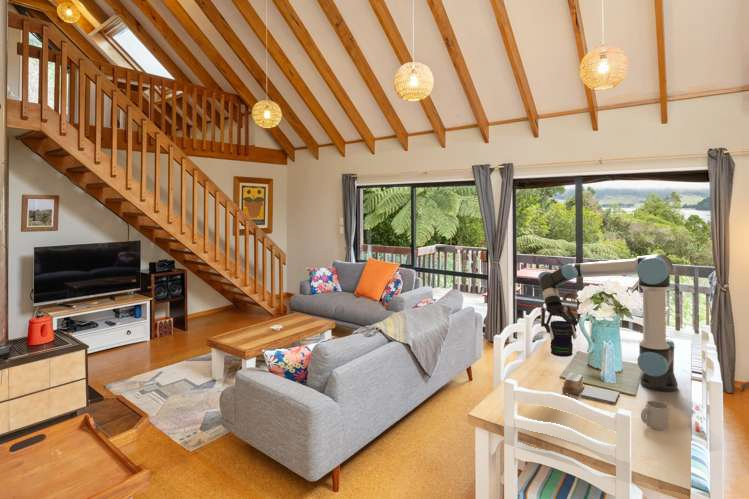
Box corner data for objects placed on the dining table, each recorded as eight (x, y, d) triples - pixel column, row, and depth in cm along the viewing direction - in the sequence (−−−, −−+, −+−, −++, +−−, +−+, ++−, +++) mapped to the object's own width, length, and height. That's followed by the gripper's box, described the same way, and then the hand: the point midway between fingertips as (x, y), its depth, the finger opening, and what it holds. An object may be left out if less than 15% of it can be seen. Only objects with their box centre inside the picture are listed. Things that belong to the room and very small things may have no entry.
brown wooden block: (584, 387, 208) (584, 374, 207) (578, 396, 199) (578, 382, 198) (568, 384, 212) (568, 371, 212) (562, 392, 203) (562, 379, 203)
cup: (672, 429, 167) (672, 408, 167) (647, 431, 167) (648, 409, 166) (658, 420, 175) (659, 399, 174) (635, 422, 174) (635, 401, 173)
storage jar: (547, 354, 208) (546, 324, 206) (555, 348, 215) (555, 319, 213) (568, 358, 201) (567, 327, 199) (576, 352, 207) (575, 322, 206)
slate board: (619, 394, 199) (619, 392, 199) (614, 404, 190) (614, 401, 190) (586, 387, 208) (586, 385, 208) (580, 396, 198) (580, 394, 198)
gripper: (572, 302, 220) (585, 341, 206) (528, 303, 222) (538, 342, 207) (576, 293, 214) (590, 333, 200) (530, 295, 216) (541, 335, 202)
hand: (563, 338), depth 204 cm, fingers closed on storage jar, 10 cm apart
